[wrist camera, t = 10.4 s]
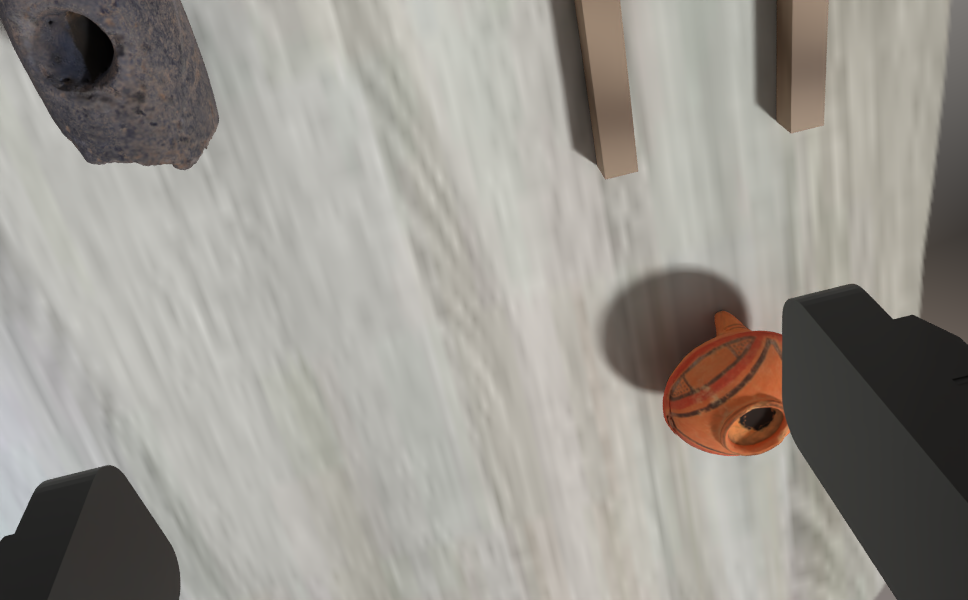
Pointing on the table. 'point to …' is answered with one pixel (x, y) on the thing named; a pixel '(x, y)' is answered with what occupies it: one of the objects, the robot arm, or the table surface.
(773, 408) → the pot
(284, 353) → the table surface
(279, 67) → the table surface
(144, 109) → the perforated stone tool
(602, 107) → the guide channel
